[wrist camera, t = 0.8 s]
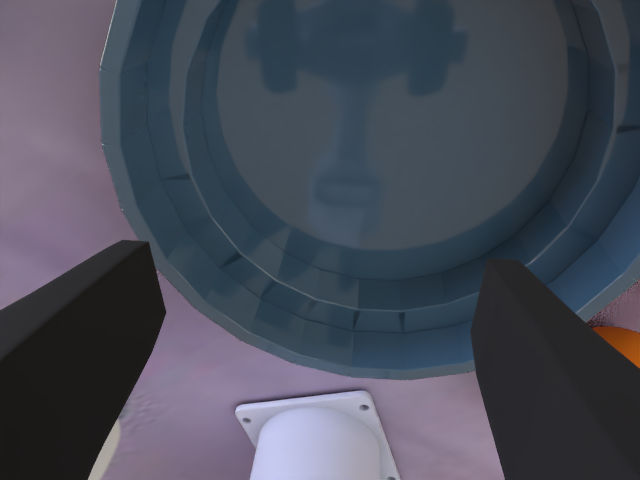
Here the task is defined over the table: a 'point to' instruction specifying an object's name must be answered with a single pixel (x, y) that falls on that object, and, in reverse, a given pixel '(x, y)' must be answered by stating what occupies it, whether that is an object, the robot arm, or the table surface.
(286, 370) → the table surface
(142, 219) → the bowl
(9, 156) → the table surface
